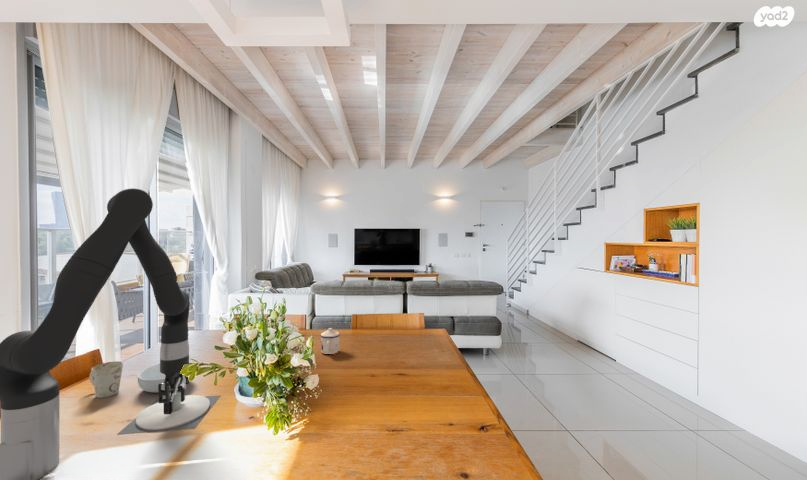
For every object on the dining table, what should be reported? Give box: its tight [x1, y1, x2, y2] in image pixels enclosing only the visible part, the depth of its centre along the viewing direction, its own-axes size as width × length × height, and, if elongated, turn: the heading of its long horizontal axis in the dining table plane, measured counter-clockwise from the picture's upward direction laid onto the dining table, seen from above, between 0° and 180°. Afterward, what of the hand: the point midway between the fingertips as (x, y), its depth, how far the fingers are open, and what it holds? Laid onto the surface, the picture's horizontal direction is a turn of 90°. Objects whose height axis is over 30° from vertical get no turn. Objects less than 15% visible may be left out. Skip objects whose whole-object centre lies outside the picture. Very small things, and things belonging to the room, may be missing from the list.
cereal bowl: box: [137, 361, 194, 393], centre depth 122 cm, size 17×17×7 cm
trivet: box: [116, 395, 221, 435], centre depth 105 cm, size 20×20×1 cm
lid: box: [135, 391, 210, 430], centre depth 105 cm, size 19×19×6 cm
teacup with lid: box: [320, 327, 341, 354], centre depth 160 cm, size 12×9×12 cm
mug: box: [88, 360, 124, 399], centre depth 118 cm, size 8×13×10 cm, turn 78°
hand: (174, 407), depth 105 cm, fingers open, 7 cm apart
